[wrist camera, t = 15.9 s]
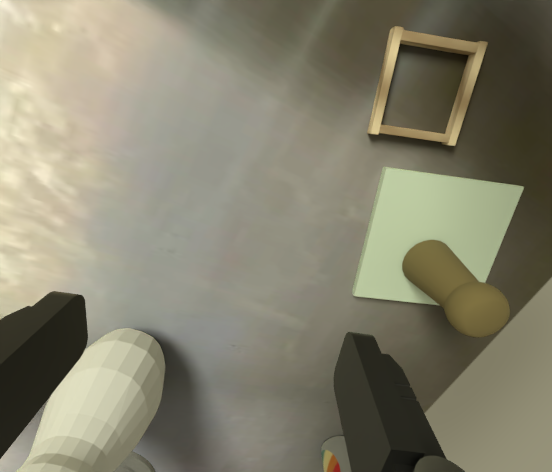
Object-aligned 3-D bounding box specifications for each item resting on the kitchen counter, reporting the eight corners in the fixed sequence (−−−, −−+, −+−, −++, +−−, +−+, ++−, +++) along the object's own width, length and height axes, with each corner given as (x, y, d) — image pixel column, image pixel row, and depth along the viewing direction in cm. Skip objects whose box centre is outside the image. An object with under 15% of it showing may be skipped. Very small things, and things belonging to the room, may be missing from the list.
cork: (462, 257, 37) (537, 314, 27) (425, 292, 39) (483, 358, 29) (428, 230, 35) (495, 280, 25) (391, 267, 37) (440, 328, 27)
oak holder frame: (390, 29, 30) (395, 26, 29) (479, 45, 30) (488, 42, 29) (367, 133, 33) (370, 133, 32) (448, 145, 34) (455, 145, 32)
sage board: (383, 166, 34) (386, 167, 33) (517, 185, 35) (524, 186, 34) (352, 292, 40) (354, 296, 39) (469, 304, 41) (474, 309, 40)
